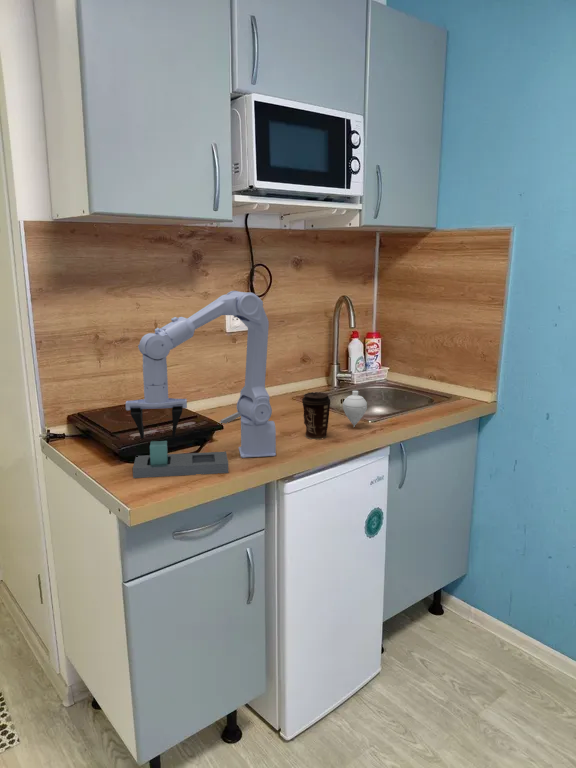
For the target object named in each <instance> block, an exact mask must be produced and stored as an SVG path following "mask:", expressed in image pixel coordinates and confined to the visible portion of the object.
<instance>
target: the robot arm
mask: <svg viewBox="0 0 576 768" xmlns="http://www.w3.org/2000/svg"><path fill="white" fill-rule="evenodd" d="M221 316H233V317H235V318H237V319H239V320H240V321H241V322H242V323H243V324H244V325H245V326H246V327H247V339H246V340H247V341H246V357H245V358H246V361H245V375H244V378H245V379H244V386H243V387H242V388H241V390H240V394H239V397H238V399H237V402H236V411H237V412H238V413H239V414H240V415H241V416H240V446H238V451H239V455H240V458H261V457H275V456H277V453H276V452H277V451H276V450H277V449H276V447H277V446H276V444H277V443H276V437H277V436H276V435H277V434H276V424H275V421H274V420H270V419H271V416H272V414H273V409H272V405H271V403H270V394H269V393H268V391H267V389H266V373H267V358H268V343H269V342H268V341H269V340H268V339H269V328H270V327H269V325H270V322H269V319H268V316H267V313H266V311H265V308H264V302H263V300H262V299H261V298H260V297H259V296H258V295H256V294H255V293H254V292H251V291H250V292H245V291H239V290H231V291H229V292H227V293H226V294H222V295H220V296H219V297H217V298H216V299H215V300H214V301H212V302H210V303H209V304H207V305H206V306H204V307H203V308H201V309H200V310H198V311H197V312H194V314H192V315H191V316H189V317H188V318H187V317H184V316H179V317H176V316H174V317H172V318H171V319H170V320H171V321H170V322H169V323H167V324H165V325H164V326H162V327H160V328H159V327H156V328H155V329H154V332H149V333H146V334H144V335H142V337H141V339H140V341H139V344H137V346H138V350H139V352H140V354H142V377H143V396H144V398H142V399H135V400H126V401H125V410H126V411H130V417H132V420H133V422H135V425H136V427H137V429H138V432H139V437H140V439H143V440H144V438H145V431H144V422H143V421H144V419H143V410H147V409H148V410H150V409H151V410H152V409H171V416H172V417H171V418H172V431H171V432H172V433H171V434H172V435H171V436H172V438H176V432H177V427H178V424H179V421H180V418H181V416H182V413H183V409H187V408H188V403H187V402H188V400H187V399H188V398H173V397H172V398H171V397H169V385H168V384H169V383H168V382H169V381H168V364H167V361H168V360H167V357H168V355H169V354H170V352H171V350H174V348H176V347H178V346H180V345H182V344H183V343H185V342H186V341H188V340H190V339H192V338H193V337H194V334H195V330H197V329H198V328H200V327H202V326H205V325H206V324H208V323H210V322H212V321H214V320H216V319H218V318H219V317H221Z"/></svg>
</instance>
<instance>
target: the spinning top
mask: <svg viewBox="0 0 576 768" xmlns="http://www.w3.org/2000/svg"><path fill="white" fill-rule="evenodd" d="M351 392H352V394H351V395H348V396H347V397H346V398H345V399H344V400H343V402H342V409H343V412H344V413H345V416H346V417H347V419H348V421H349V422H350V423H351V424H352V425H353V428H354V427H356V425H357V424H358V423H359V422H360V421H361V419H362V418H363V416H364V415H365V414H366V412H367V409H368V402H367V400H366V399H365V398H364V397H363V396H362V395H359V390H352V391H351Z"/></svg>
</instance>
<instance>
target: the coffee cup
mask: <svg viewBox="0 0 576 768" xmlns="http://www.w3.org/2000/svg"><path fill="white" fill-rule="evenodd" d="M301 402H302V406H303V424H304V425H305V434H304V435H305V438H306V439H308V438H309V440H312V439H319V440H323V439H325V438H326V437H327V435H328V433H327V432H328V426H329V418H330V406H331V399H330V397H329V395H328V393H326V392H316V391H315V392H313V391H312V392H307V393H305V394H303V397H302V400H301ZM322 438H323V439H322Z"/></svg>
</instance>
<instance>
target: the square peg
mask: <svg viewBox="0 0 576 768" xmlns="http://www.w3.org/2000/svg"><path fill="white" fill-rule="evenodd" d="M168 454H169V453H168V440H160V441H159V440H158V441H155V440H154V441H153V440H152V441H150V445H149V455H150V463H151V465H162V464H168Z"/></svg>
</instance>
